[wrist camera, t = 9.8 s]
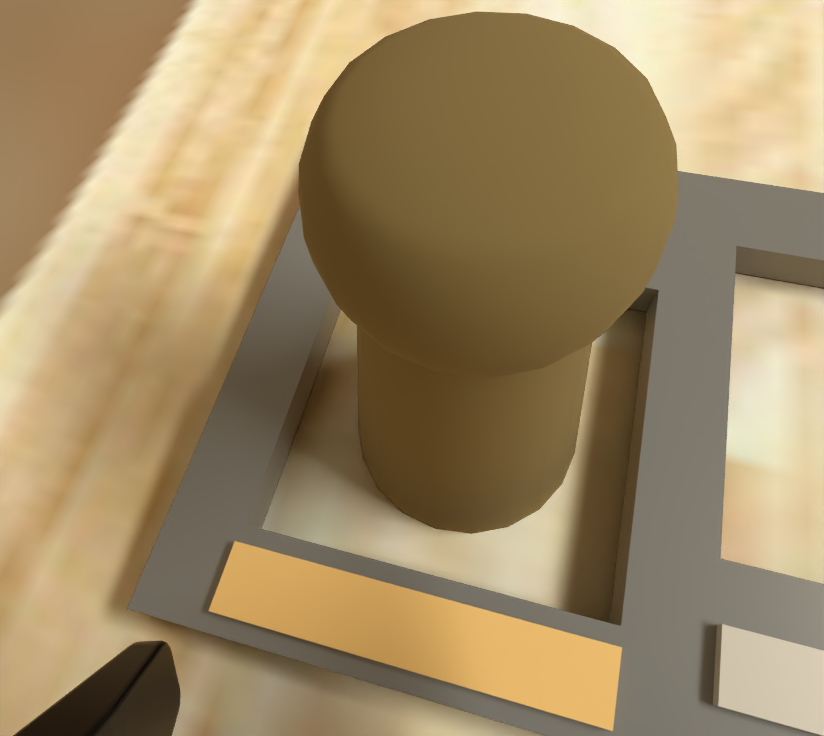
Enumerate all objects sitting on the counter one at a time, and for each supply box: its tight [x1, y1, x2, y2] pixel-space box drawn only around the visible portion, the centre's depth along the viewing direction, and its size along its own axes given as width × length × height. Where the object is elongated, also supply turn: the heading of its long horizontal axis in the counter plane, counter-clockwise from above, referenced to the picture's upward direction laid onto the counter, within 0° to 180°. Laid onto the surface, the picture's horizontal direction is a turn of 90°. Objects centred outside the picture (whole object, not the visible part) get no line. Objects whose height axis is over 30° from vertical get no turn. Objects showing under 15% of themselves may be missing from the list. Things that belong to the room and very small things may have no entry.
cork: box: [299, 12, 678, 533], centre depth 12 cm, size 6×6×11 cm
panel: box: [127, 171, 824, 736], centre depth 16 cm, size 16×24×2 cm, turn 75°
